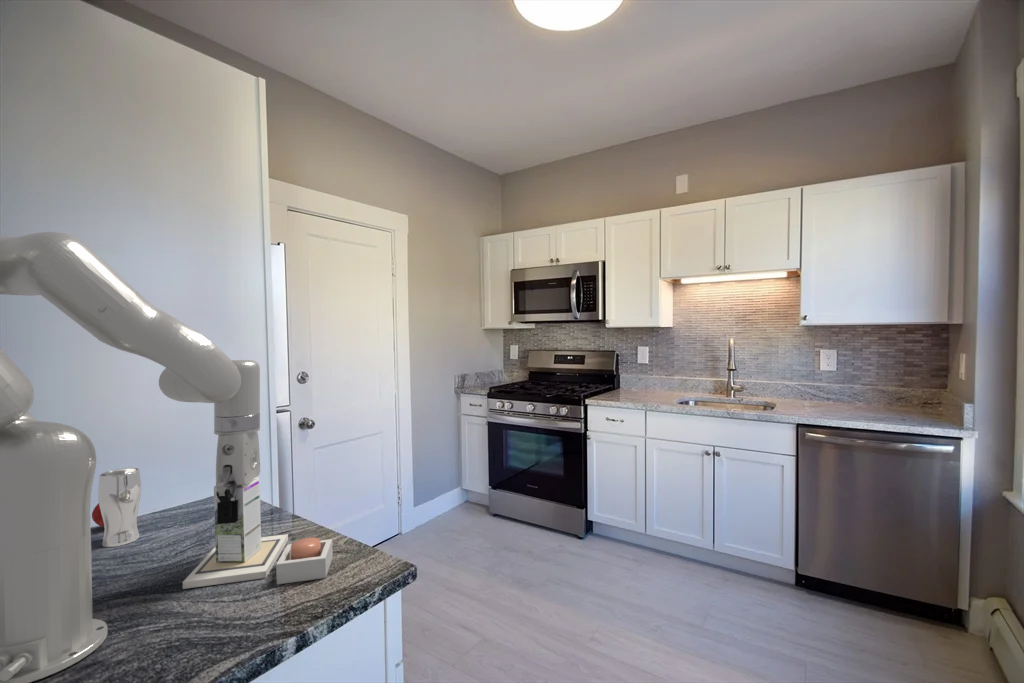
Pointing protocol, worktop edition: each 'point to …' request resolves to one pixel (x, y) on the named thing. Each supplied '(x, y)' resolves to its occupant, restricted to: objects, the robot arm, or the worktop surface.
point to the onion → (97, 516)
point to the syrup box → (240, 526)
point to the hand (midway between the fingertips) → (237, 513)
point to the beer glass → (119, 505)
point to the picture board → (237, 565)
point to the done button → (306, 548)
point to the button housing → (304, 565)
